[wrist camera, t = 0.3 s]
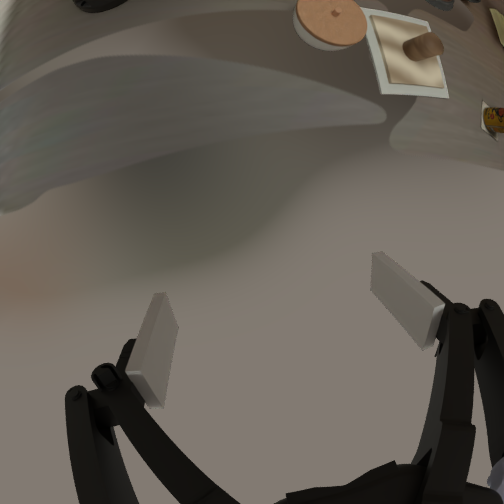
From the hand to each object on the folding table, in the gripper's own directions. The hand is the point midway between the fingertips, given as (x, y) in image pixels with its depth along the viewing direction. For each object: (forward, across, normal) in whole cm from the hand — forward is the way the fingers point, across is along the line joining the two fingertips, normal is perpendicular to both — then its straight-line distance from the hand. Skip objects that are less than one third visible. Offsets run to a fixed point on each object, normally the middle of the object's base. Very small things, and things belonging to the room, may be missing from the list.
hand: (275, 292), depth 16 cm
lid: (+27, +34, +25) cm, 51 cm away
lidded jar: (+28, +16, +27) cm, 42 cm away
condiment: (+28, +61, +14) cm, 69 cm away
